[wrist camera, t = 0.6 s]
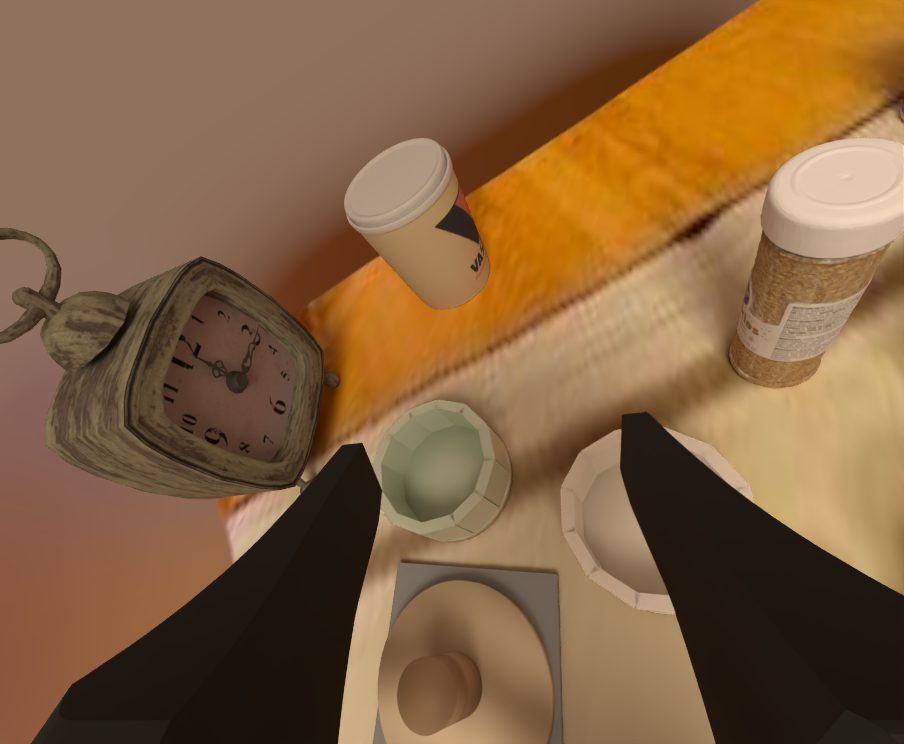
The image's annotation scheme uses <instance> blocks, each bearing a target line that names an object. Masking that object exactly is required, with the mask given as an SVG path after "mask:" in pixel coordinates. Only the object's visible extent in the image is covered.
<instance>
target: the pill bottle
mask: <svg viewBox="0 0 904 744" xmlns="http://www.w3.org/2000/svg"><path fill="white" fill-rule="evenodd" d="M900 116H901V118H902V119H903V120H904V101H903V103H902V105H901V108H900Z"/></svg>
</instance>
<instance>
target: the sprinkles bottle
mask: <svg viewBox="0 0 904 744" xmlns="http://www.w3.org/2000/svg"><path fill="white" fill-rule="evenodd" d="M761 225H762V228H763V230H762V231H763V232H762V236H761V241H760V244H759V248H758V251H757V256H756V259H755V264H754V267H753V268H752V271H751V274H750V278H749V282H748V286H747V290H746V294H745V297H744V302H743V305H742V308H741V312H740V315H739V319H738V324H737V331H736V336H735V338H734V340H733V341H732V343H731V345H730V351H729V358H730V362H731V364H732V366H733V367H734V369H735V370H736V371H737V372H738V374H739V375H740V376H741V377H743V378H745V379H746V380H748V381H750V382H752V383H754V384H757V385H761V386H764V387H770V388H783V387H791V386H795V385H798V384H801V383H803V382H804V381H806V380H808V379H809V378H810V377H811V376H812V375H813V374H814V373H815V372H816V371H817V369H818V367H819V365H820V362H821V357H822V356H823V354H824V353H825V351H826V349H827V348H828V347H830V345H831V344H832V343H833V341H834V340H835V338H836V336H837V335H838V333H839V332H840V330H841V328H842V327H843V325H844V324H845V322H846V320H847V319H848V317H849V315H850V314H851V312H852V310H853V309H854V307H855V306H856V304H857V302H858V301H859V299H860V298H861V296H862V294H863V293H864V291H865V289H866V288H867V286H868V284H869V283H870V281H871V279H872V276H873V273H874V271H875V269H876V268H877V266H878V264H879V263H880V261H881V259H882V258H883V256H884V255H885V253H886V251H887V249H888V248H889V246H890V244H891V243H892V242H893V241H894V239H895V238H897V237H898V236H899V235H901V234H902V233H903V231H904V144H902V143H899V142H895V141H891V140H885V139H879V138H852V139H843V140H837V141H832V142H828V143H824V144H821V145H818V146H815V147H813V148H810V149H808V150H805V151H803V152H801V153H799V154H797V155H796V156H794V157H793V158H791V159H790V160H788V161H787V162H786V163H785V164H783V165H782V166H781V167H780V168H779V169H778V171H777V172H776V173H775V174H774V176H773V177H772V179H771V181H770V183H769V186H768V190H767V193H766V197H765V200H764V205H763V209H762V214H761Z"/></svg>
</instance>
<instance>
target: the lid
mask: <svg viewBox="0 0 904 744" xmlns="http://www.w3.org/2000/svg"><path fill="white" fill-rule="evenodd" d="M378 706H379V715H380V721H381V727H382V730H383V734H384V738H385V741H386V744H549V742H550V738H551V734H552V729H553V722H554V707H555V698H554V684H553V678H552V673H551V668H550V664H549V661H548V657H547V654H546V651H545V649H544V646H543V644H542V641H541V639H540V637H539V635H538V633H537V631H536V629H535V628H534V626H533V625H532V623H531V622H530V620H529V619H528V617H527V616H526V615H525V613H524V612H523V611H522V610H521V609H520V608H519V606H518V605H516V604H515V603H514V602H513V601H512V600H511V599H510V598H509V597H507V596H506V595H504V594H503V593H501V592H500V591H498V590H496V589H494V588H492V587H490V586H487V585H484V584H481V583H476V582H470V581H464V580H454V581H447V582H443V583H439V584H436V585H434V586H432V587H430V588H428V589H426V590H424V591H423V592H421V593H420V594H419V595H417V596H416V597H415V598H414V599H413V600H412V601H411V602H409V604H408V605H407V606H406V607H405V608H404V609H403V611H402V612H401V614H400V615H399V617H398V618H397V619H396V621H395V623H394V625H393V627H392V629H391V631H390V633H389V635H388V638H387V640H386V643H385V646H384V650H383V653H382V657H381V663H380V668H379V677H378Z"/></svg>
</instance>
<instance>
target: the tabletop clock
mask: <svg viewBox="0 0 904 744" xmlns="http://www.w3.org/2000/svg"><path fill="white" fill-rule="evenodd" d="M5 239H17V240H24V241H27V242H29V243H32V244H34V245H35V246H36V247H38V248H39V249H40V250H41V251H42V252H43V253H44V255H45V260H46V265H47V271H46V276H45V280H44V284H43V286H42V288H41V289H40V291H39V293H38V292H36V291H34V290H32V289H30V288H20V289H18V290H16V291H15V292H14V293H13V295H12V300H13V301H14V303H15V304H17V305H19V306H21V307H23V308H25V309H27V310H26V311H25V312H24V314H23V315H22V316H21V318H20V319H19V320H18V321H17V322H15V323H14V324H12V325H11V326H10V327H8V328H7V329H5V330H4V331H2V332H0V344H2V343H7V342H11V341H13V340H14V339H16V338H18V337H19V336H21V335H23V334H24V333H26V332H28V331H29V330H31V329H32V328H33V327H34V326H35V325H36V324H37V323H38V322H39V321H40V320H41V319H42V318H43V317H44V318H46V320H45V322H44V324H43V326H42V329H41V333H40V335H41V338H42V341H43V343H44V346H45V348H46V350H47V352H48V353H49V355H50V356H51V357H52V358H53V360H54V361H55V362H56V363H58V364H59V365H60V366H61V367H62V368H64V369H65V373H64V375H63V377H62V379H61V381H60V384H59V386H58V388H57V390H56V392H55V394H54V397H53V399H52V402H51V404H50V407H49V410H48V415H47V419H46V433H45V436H46V438H45V439H46V440H45V445H46V447H48V448H49V449H51V450H52V451H53V452H54V453H56V454H57V455H58V456H60V457H61V458H62V459H63V460H65V461H66V462H68V463H70V464H72V465H74V466H76V467H78V468H80V469H82V470H84V471H86V472H89V473H91V474H93V475H96V476H98V477H101V478H104V479H107V480H110V481H113V482H116V483H120V484H122V485H126V486H129V487H132V488H135V489H138V490H141V491H144V492H150V493H156V494H162V495H169V496H175V497H181V498H188V499H213V498H222V497H229V496H237V495H244V494H252V493H260V492H267V491H275V490H282V489H286V488H290V487H295V486H296V485H298V486H299V487H301V489H300V494H301V493H302V492H303V491H304V490H305V489H306V488H307V486H308V485H309V484H310V483H311V482H312V481H313V480H310V481H307V482H305V481H303V480H302V479H301V478H300V477H301V475H302V473H303V471H304V469H305V466H306V464H307V461H308V457H309V454H310V450H311V446H312V442H313V438H314V434H315V430H316V426H317V422H318V418H319V411H320V404H321V397H322V389H323V384H324V385H325V386H326V387H327V388H334V387H336V386H337V385H338V384H339V376H338V375H337V374H336V373H334V372H327V373H326V374H324V358H323V351H322V349H321V348H320V346H319V345H318V343H317V342H316V340H315V339H314V337H313V336H312V335H311V334H310V333H309V332H308V331H307V330H306V328H305V327H304V326H303V325H302V324H301V323H300V322H299V321H297V320H296V319H295V318H294V317H293V316H292V315H291V314H290V313H289V312H288V311H286V310H285V309H284V308H283V307H282V306H281V305H280V304H279V303H278V302H277V301H276V300H274V299H273V298H272V297H270V296H269V295H267V294H266V293H265V292H263V291H262V290H260V289H259V288H258V287H256V286H255V285H253V284H252V283H251V282H249V281H248V280H247V279H245V278H244V277H242V276H241V275H239V274H237V273H236V272H234V271H232V270H231V269H229V268H227V267H225V266H224V265H222V264H220V263H217V262H214V261H212V260H209V259H206V258H204V257H199V258H196V259H194V260H192V261H189V262H187V263H185V264H183V265H181V266H178V267H176V268H174V269H171V270H169V271H167V272H165V273H162V274H160V275H158V276H155V277H153V278H151V279H148V280H146V281H144V282H142V283H139V284H137V285H135V286H132V287H131V288H129V289H127V290H125V291H123V292H122V293H120V294H118V295H114V294H111V293H107V292H98V291H89V292H80V293H77V294H76V295H73V296H71V297H69V298H67V299H65V300H63V301H62V302H61V303H60V304H59V303H57V302H55V299H56V296H57V293H58V291H59V288H60V280H61V267H60V264H59V262H58V260H57V257H56V255H55V253H54V252H53V251H52V250H51V248H50V247H49V246H48V245H47V244H46V243H45V242H43V241H42V240H41V239H39V238H38V237H36V236H33V235H32V234H29V233H27V232H23V231H19V230H15V229H12V228H0V240H5Z"/></svg>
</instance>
